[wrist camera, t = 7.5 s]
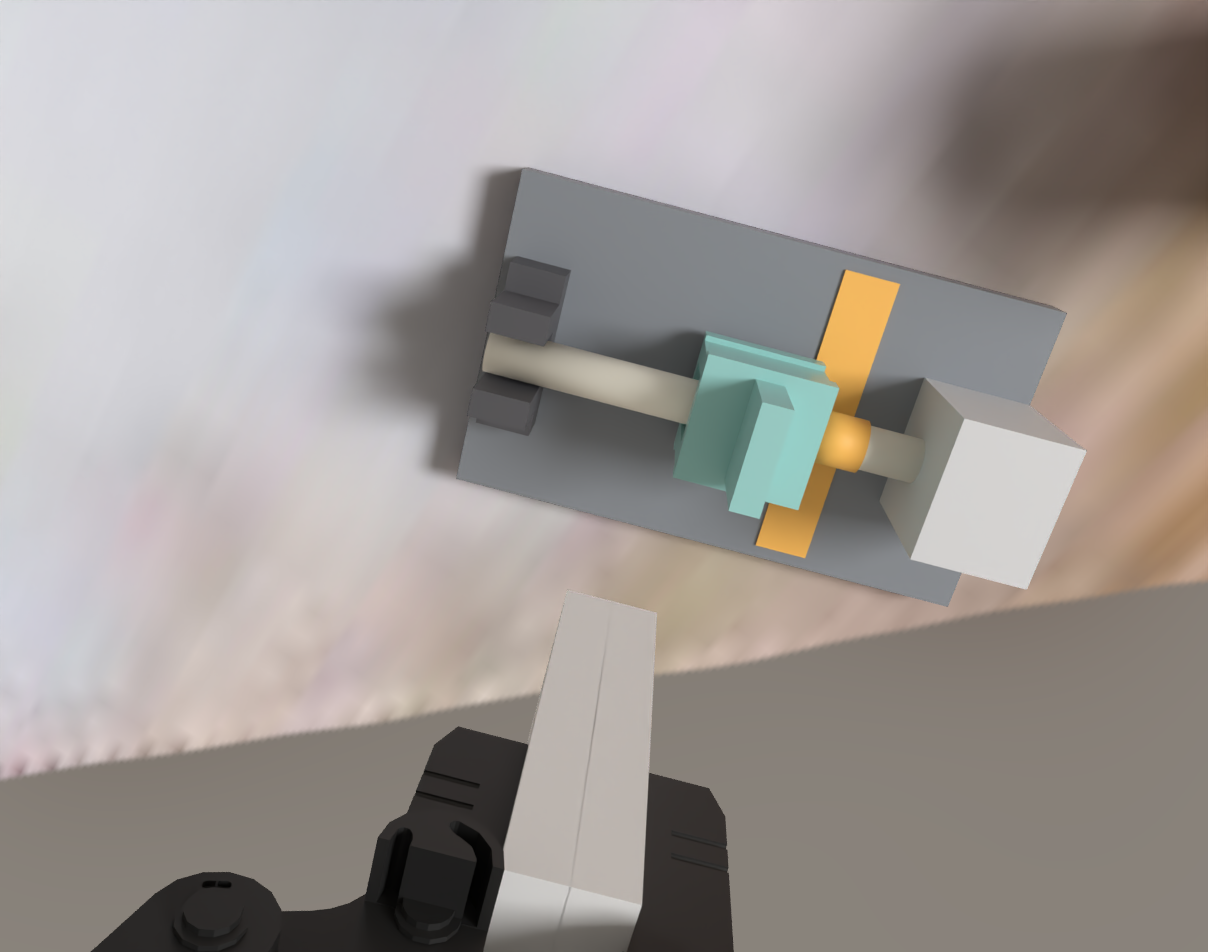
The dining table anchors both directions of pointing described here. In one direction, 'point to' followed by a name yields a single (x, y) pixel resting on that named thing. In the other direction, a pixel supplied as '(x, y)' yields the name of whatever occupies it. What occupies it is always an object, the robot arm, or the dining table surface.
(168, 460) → the dining table surface
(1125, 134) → the dining table surface
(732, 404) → the sleeve
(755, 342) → the cable board
